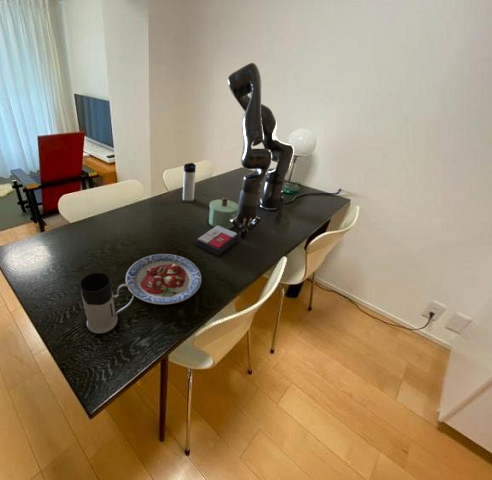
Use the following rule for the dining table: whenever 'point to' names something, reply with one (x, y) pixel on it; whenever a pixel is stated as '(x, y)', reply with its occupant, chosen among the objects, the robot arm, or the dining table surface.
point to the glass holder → (100, 302)
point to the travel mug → (189, 182)
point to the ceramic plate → (163, 279)
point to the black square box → (217, 240)
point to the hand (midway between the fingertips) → (242, 238)
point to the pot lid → (224, 205)
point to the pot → (221, 219)
